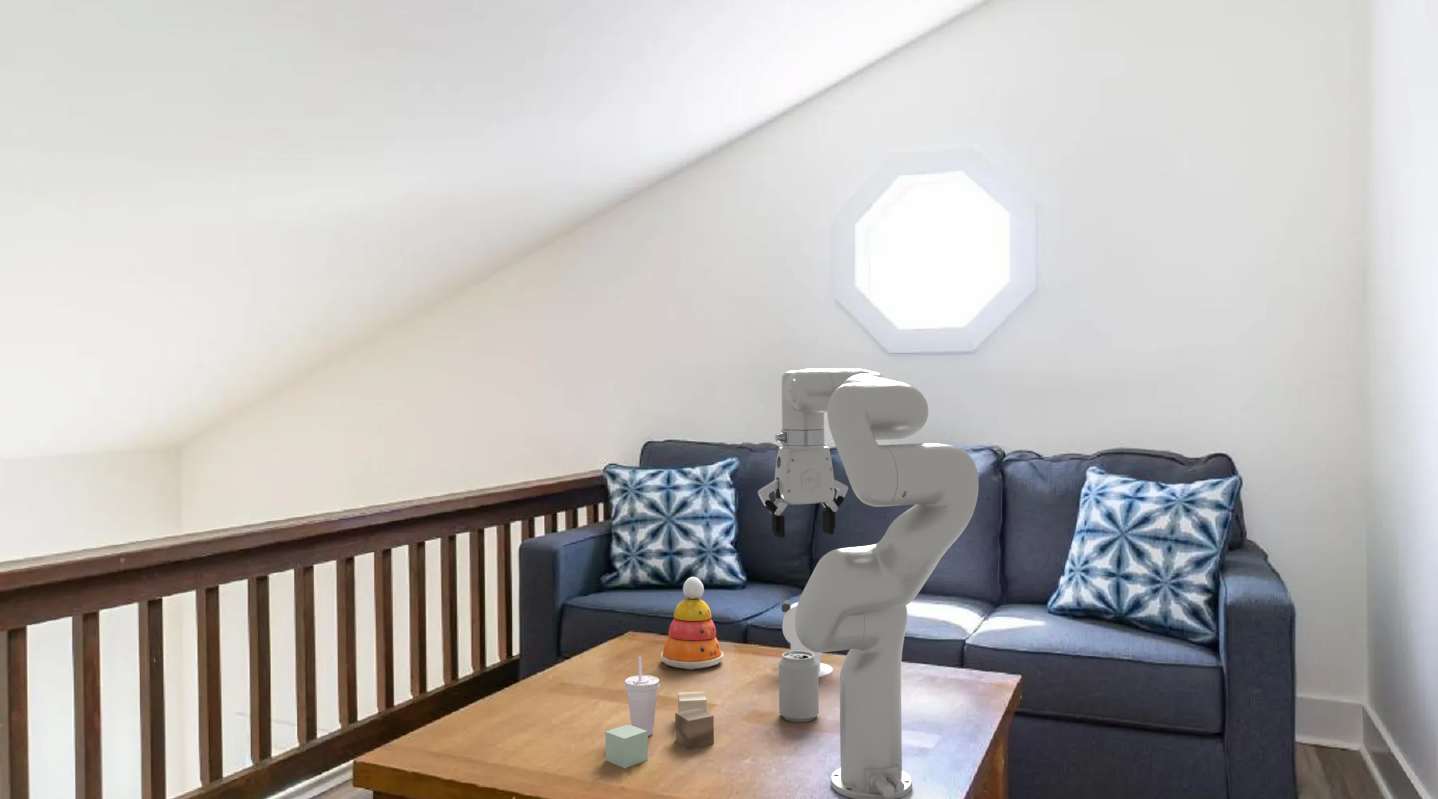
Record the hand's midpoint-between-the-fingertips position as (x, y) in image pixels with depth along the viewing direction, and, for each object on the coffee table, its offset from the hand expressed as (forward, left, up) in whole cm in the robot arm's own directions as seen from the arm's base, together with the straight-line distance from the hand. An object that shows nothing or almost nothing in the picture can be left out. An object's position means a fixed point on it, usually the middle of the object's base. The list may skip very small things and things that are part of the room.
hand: (803, 534), depth 181 cm
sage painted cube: (-2, +33, -36) cm, 49 cm away
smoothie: (+10, +28, -36) cm, 47 cm away
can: (+10, -2, -36) cm, 38 cm away
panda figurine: (+38, -14, -36) cm, 54 cm away
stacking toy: (+51, +9, -36) cm, 63 cm away
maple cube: (+13, +18, -36) cm, 42 cm away
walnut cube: (+3, +20, -36) cm, 41 cm away
